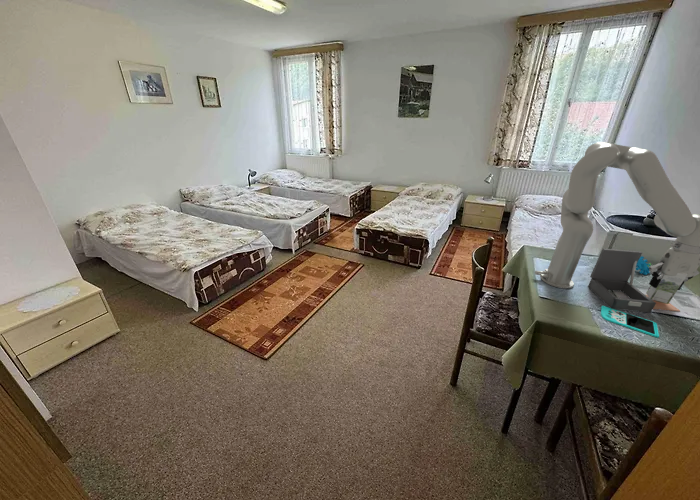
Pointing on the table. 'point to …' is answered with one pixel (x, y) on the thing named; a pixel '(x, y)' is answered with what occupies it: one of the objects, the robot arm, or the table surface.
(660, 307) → the rubber mat
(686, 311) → the table surface
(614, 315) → the handheld game console
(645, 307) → the case
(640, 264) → the gear
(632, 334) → the table surface
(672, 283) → the syrup box
